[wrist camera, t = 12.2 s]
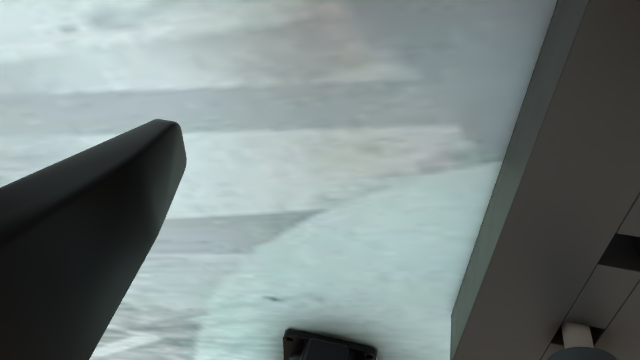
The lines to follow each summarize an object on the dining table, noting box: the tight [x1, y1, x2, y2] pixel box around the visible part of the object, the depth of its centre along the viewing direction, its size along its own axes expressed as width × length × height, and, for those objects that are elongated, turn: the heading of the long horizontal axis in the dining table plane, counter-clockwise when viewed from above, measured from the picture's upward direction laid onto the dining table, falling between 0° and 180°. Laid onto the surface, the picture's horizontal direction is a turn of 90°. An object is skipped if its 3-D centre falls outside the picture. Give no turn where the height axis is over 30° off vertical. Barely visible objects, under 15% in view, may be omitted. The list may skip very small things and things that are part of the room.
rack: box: [450, 0, 640, 360], centre depth 21 cm, size 10×21×4 cm, turn 179°
